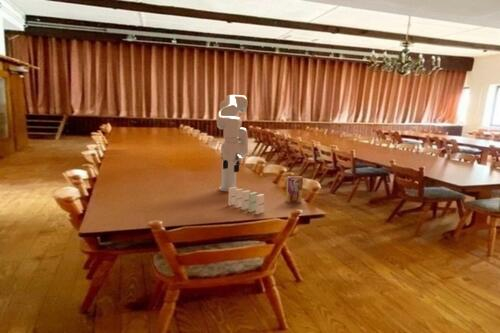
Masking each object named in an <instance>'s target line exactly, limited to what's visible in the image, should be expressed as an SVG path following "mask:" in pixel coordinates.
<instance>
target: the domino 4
mask: <svg viewBox="0 0 500 333" xmlns="http://www.w3.org/2000/svg"><path fill="white" fill-rule="evenodd" d="M264 212H265V194H264V193H260V194H257V195H256V210H255V214H256V215H259V214H263V213H264Z"/></svg>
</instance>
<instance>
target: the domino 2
mask: <svg viewBox="0 0 500 333" xmlns="http://www.w3.org/2000/svg"><path fill="white" fill-rule="evenodd" d="M243 191H245V190H244V188H241V187H240V188H238V189H237V190H235V205H234V208H236V209H238V208H241V206H242V192H243Z"/></svg>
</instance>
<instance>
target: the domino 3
mask: <svg viewBox="0 0 500 333" xmlns="http://www.w3.org/2000/svg"><path fill="white" fill-rule="evenodd" d="M249 193H251V190H249V189H247V190H243V192H242V206H241V207H240V208H241V210H242V211H244V210H248V207H249Z"/></svg>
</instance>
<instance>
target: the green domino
mask: <svg viewBox="0 0 500 333" xmlns="http://www.w3.org/2000/svg"><path fill="white" fill-rule="evenodd" d="M256 195H258V192H256V191H253V192H250V193H249V207H248V209H247V210H248V212H249V213H252V212H256Z"/></svg>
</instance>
